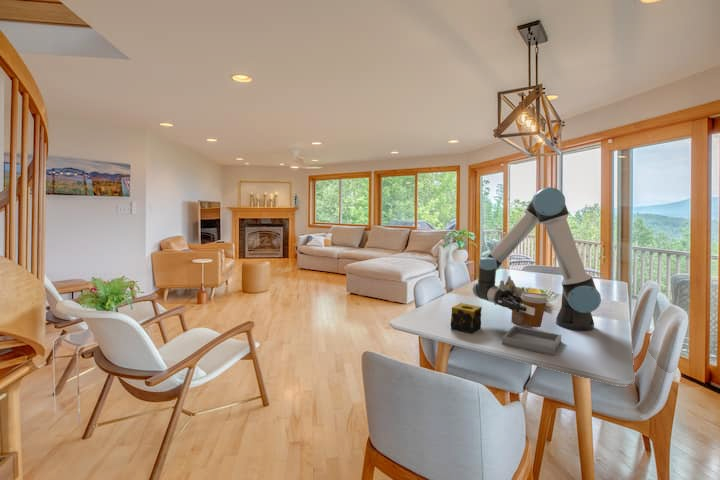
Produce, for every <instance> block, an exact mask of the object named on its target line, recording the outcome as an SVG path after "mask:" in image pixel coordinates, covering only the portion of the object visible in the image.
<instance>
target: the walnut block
mask: <svg viewBox="0 0 720 480" xmlns="http://www.w3.org/2000/svg"><path fill="white" fill-rule="evenodd" d="M520 303H521V302H520ZM510 320H511V323H514V324H515V325H517V326H523V325H524V324H523V313H522V311H520V310H519V312H516V309H514V310H511V319H510ZM524 326H525V325H524Z"/></svg>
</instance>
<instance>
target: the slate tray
mask: <svg viewBox="0 0 720 480" xmlns="http://www.w3.org/2000/svg"><path fill="white" fill-rule="evenodd" d="M561 342H562V334H558V333H553V332H548V331H543V330H537V329H533V328H528V327H523V326H519V325H513V326H512V327H511V328H510V329H509V330H508V331H507V332H506V333H505V334H503V336H501V345H505V346H510V347H514V348H517V349H522V350H527V351H529V352H530V351H531V352H536V353H540V354H542V355H543V354H544V355H549V356H553V357H554V355H555V354H556V352H557V349H558V348H559V346H560V344H561Z"/></svg>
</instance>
